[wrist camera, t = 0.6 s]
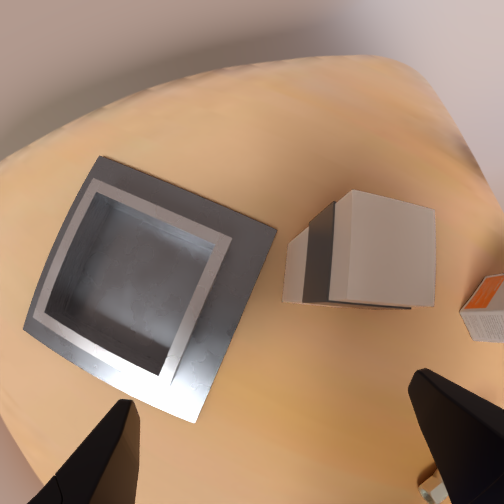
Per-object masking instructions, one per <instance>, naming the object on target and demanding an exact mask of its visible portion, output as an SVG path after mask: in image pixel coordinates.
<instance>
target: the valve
mask: <svg viewBox="0 0 504 504" xmlns="http://www.w3.org/2000/svg"><path fill="white" fill-rule="evenodd" d="M418 489H419V492H420V494H421V496H422V497H423V498H424V500H425V501H426V502H427V503H428V504H440V503H441V502H442V501H443V500H444V499H445V498H446V497H447V496H448V493H447V490H446V488H445V485H444V483H443V480H442V478H441V475H440V473H439V470H438V468H437V469H436V471H435V472H434V474H433V476H431V477H430V478H428V479H427V480H426V481H425V482H423V483H422V484H421V485H420V486H419V488H418Z"/></svg>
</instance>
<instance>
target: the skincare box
mask: <svg viewBox="0 0 504 504" xmlns="http://www.w3.org/2000/svg"><path fill="white" fill-rule="evenodd" d="M460 315H461V317H462V319H463V321H464V323H465V325H466V327H467V329H468V331H469V333H470V336H471V338H472V340H473V341H483V342H497V343H504V273H502V274H495V275H489V276H485V278H484V280H483V281H482V283H481V284H480V285H479V287H478V288H477V290H476V291H475V292H474V294H473V295H472V296H471V298H470V299H469V300H468V301H467V303H466V304H465V305H464V306H463V308H462V309H461V310H460Z"/></svg>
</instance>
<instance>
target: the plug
mask: <svg viewBox="0 0 504 504" xmlns="http://www.w3.org/2000/svg"><path fill="white" fill-rule="evenodd" d="M435 280H436V225H435V210H434V209H430V208H427V207H423V206H419V205H416V204H412V203H408V202H404V201H400V200H396V199H392V198H388V197H384V196H380V195H376V194H372V193H367V192H363V191H358V190H354V189H352V190H351V191H350V192H348V193H347V194H346V195H345V196H344V197H343V198H341V199H340V200H339V201H338V202H334V201H333V202H332V203H331V204H330V205H329V206H328V207H326V208H325V209H324V210H323V211H322V212H321V213H320V214H318V215H317V216H316V217H315V218H314V219H313V220H312V221H310V222H309V226H308V227H307V228H306V229H305V230H304V231H302V232H301V233H300V234H299V235H298V236H296V237H295V238H294V239H293V240H292V241H290V242H289V243H288V248H287V258H286V268H285V277H284V286H283V295H282V302H287V303H296V304H306V305H315V306H326V307H337V308H363V309H411V307H434V300H435Z"/></svg>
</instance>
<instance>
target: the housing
mask: <svg viewBox="0 0 504 504" xmlns="http://www.w3.org/2000/svg"><path fill="white" fill-rule="evenodd" d="M276 232H277V230H276V229H274V228H272V227H269V226H267V225H265V224H263V223H260V222H258V221H256V220H253V219H251V218H249V217H247V216H244V215H242V214H240V213H237V212H235V211H233V210H231V209H228V208H226V207H224V206H221V205H219V204H217V203H214V202H212V201H210V200H207V199H205V198H202V197H200V196H198V195H195V194H193V193H191V192H188V191H186V190H183V189H181V188H179V187H176V186H174V185H171V184H169V183H167V182H164V181H162V180H159V179H157V178H154V177H152V176H149V175H147V174H144V173H142V172H140V171H137V170H135V169H132V168H130V167H127V166H125V165H122V164H120V163H117V162H114V161H112V160H109V159H107V158H104V157H102V156H99V157H98V159H97V160H96V162H95V164H94V165H93V167H92V169H91V171H90V172H89V174H88V176H87V178H86V179H85V181H84V183H83V185H82V187H81V189H80V191H79V192H78V194H77V196H76V198H75V200H74V202H73V204H72V206H71V208H70V210H69V212H68V214H67V216H66V218H65V220H64V222H63V224H62V227H61V229H60V231H59V233H58V235H57V238H56V240H55V242H54V244H53V247H52V249H51V251H50V254H49V256H48V259H47V261H46V263H45V266H44V269H43V271H42V274H41V276H40V279H39V282H38V284H37V287H36V290H35V293H34V296H33V298H32V301H31V304H30V307H29V311H28V314H27V317H26V320H25V323H24V327H23V330H24V331H26V332H27V333H29V334H30V335H31V336H33V337H34V338H36V339H37V340H38V341H40V342H41V343H43V344H44V345H46V346H47V347H49V348H50V349H52V350H53V351H55V352H56V353H58V354H59V355H61V356H62V357H64V358H65V359H67V360H69V361H70V362H72V363H73V364H75V365H77V366H78V367H80V368H82V369H83V370H85V371H87V372H88V373H90V374H92V375H94V376H95V377H97V378H99V379H101V380H103V381H104V382H106V383H108V384H110V385H112V386H114V387H116V388H117V389H119V390H121V391H123V392H125V393H127V394H129V395H131V396H133V397H135V398H137V399H139V400H141V401H144V402H146V403H148V404H150V405H152V406H154V407H157V408H159V409H161V410H163V411H166V412H168V413H170V414H172V415H175V416H177V417H180V418H182V419H185V420H187V421H190V422H192V423H195V422H196V419H197V417H198V415H199V413H200V410H201V408H202V406H203V404H204V401H205V399H206V397H207V394H208V392H209V390H210V388H211V385H212V383H213V381H214V378H215V376H216V374H217V371H218V369H219V367H220V365H221V362H222V360H223V358H224V355H225V353H226V351H227V348H228V346H229V344H230V341H231V339H232V337H233V334H234V332H235V330H236V327H237V325H238V323H239V320H240V318H241V316H242V313H243V311H244V308H245V306H246V304H247V301H248V299H249V297H250V294H251V292H252V290H253V287H254V285H255V282H256V280H257V278H258V275H259V273H260V270H261V268H262V266H263V263H264V261H265V259H266V256H267V254H268V251H269V249H270V246H271V244H272V242H273V239H274V237H275V234H276Z"/></svg>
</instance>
